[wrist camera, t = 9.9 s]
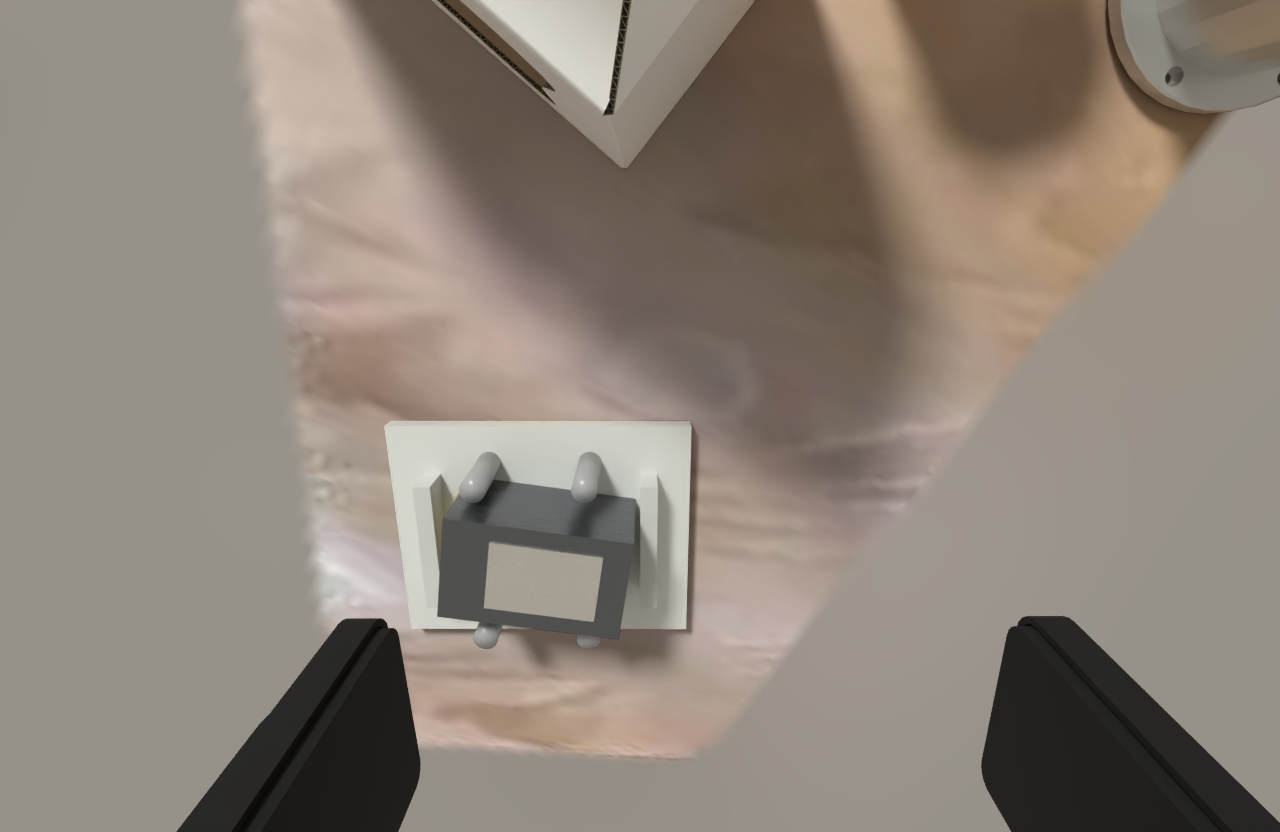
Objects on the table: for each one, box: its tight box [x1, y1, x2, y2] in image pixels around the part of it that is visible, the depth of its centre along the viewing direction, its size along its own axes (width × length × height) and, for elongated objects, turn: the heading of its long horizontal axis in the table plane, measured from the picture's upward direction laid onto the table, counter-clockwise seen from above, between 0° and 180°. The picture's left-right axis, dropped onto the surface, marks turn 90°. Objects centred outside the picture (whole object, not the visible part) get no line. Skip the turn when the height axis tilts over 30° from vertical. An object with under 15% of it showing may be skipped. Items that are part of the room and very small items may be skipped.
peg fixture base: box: [384, 421, 692, 649], centre depth 37 cm, size 18×14×5 cm
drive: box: [437, 480, 635, 640], centre depth 35 cm, size 10×6×6 cm, turn 82°
